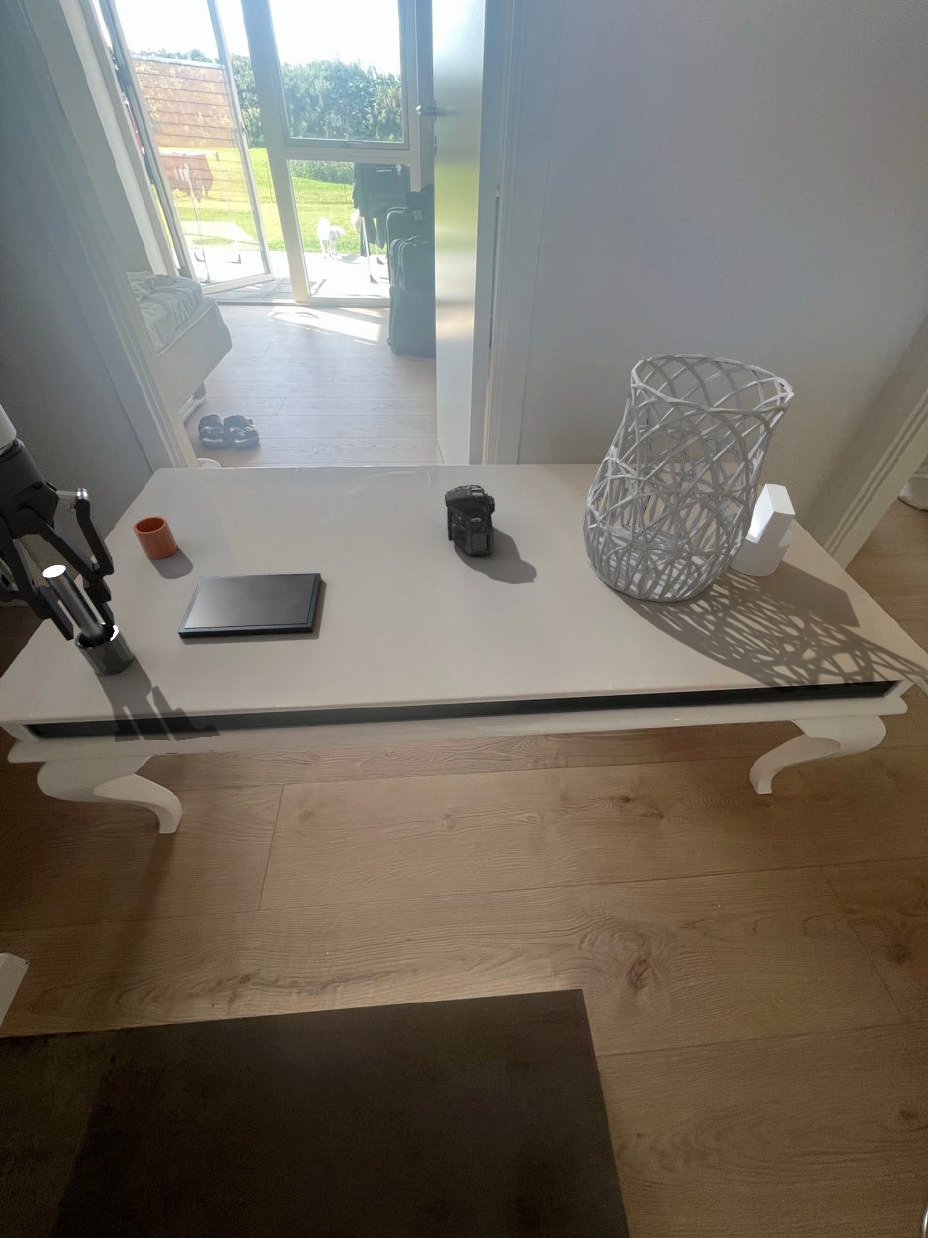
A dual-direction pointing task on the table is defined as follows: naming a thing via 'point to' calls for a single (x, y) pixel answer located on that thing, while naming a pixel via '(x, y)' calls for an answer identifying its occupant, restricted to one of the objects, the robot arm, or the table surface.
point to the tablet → (252, 605)
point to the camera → (470, 519)
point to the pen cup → (155, 537)
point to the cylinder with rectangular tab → (766, 533)
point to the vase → (677, 487)
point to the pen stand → (106, 652)
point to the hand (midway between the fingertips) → (90, 626)
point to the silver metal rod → (76, 605)
